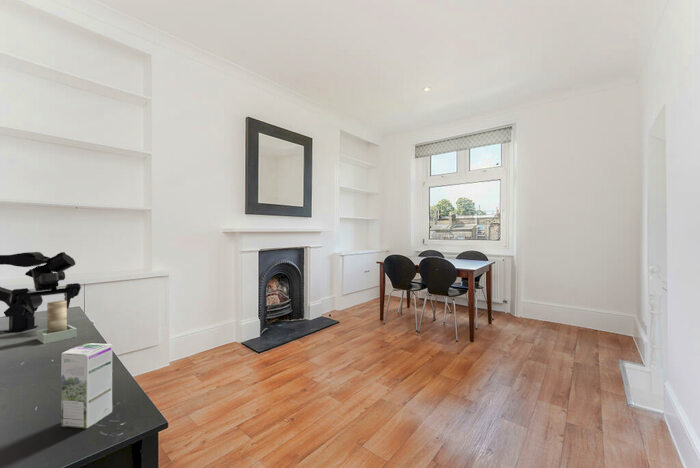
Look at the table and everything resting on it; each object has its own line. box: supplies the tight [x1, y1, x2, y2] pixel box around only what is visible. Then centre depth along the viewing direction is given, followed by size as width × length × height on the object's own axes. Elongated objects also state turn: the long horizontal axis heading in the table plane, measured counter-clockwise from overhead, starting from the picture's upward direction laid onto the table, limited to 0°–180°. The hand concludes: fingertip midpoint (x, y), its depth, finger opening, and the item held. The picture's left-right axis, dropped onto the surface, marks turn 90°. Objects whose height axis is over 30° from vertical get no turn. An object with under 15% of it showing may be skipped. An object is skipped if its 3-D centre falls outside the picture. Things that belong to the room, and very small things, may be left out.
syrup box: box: [60, 342, 113, 429], centre depth 59 cm, size 6×6×14 cm
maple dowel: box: [46, 300, 68, 334], centre depth 106 cm, size 5×5×13 cm
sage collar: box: [36, 324, 78, 345], centre depth 106 cm, size 9×9×3 cm
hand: (51, 310), depth 111 cm, fingers open, 9 cm apart
